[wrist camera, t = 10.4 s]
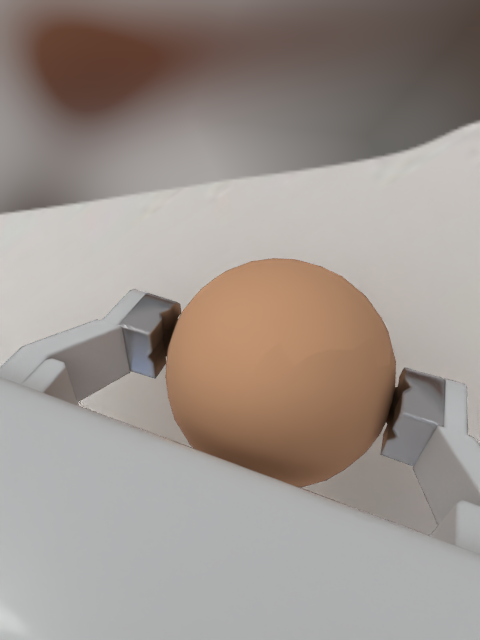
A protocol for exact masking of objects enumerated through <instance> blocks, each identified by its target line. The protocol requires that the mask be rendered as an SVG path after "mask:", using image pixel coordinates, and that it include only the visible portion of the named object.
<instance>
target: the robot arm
mask: <svg viewBox="0 0 480 640" xmlns="http://www.w3.org/2000/svg"><path fill="white" fill-rule="evenodd" d="M180 314H181V307H180V304H179V303H178V302H175V301H172V300H169V299H166V298H162V297H159V296H156V295H153V294H150V293H145V292H142V291H139V290H136V289H133V290H130V291H129V292H128V293H127V294H126V295H125V296H124V297H123V298H122V299H121V300H120V301H119V302H118V304H117V305H116V306H115V307H114V308H113V309H112V310H111V311H110V312H109V313H108V314H107V315H106V316H105V317H104V318H103V319H102V321H101V320H98V319H97V320H94V321H91V322H89V323H86V324H83V325H80V326H77V327H75V328H72V329H69V330H66V331H64V332H61V333H58V334H55V335H52V336H50V337H47V338H44V339H41V340H39V341H36V342H33V343H30V344H28V345H25V346H22V347H21V348H20V349H19V350H18V351H17V352H16V353H15V354H14V355H13V356H11V357H10V358H9V359H8V360H7V361H6V362H5V363H4V364H3V365H2V366H1V367H0V640H480V445H479V443H478V442H477V441H476V439H475V438H474V437H472V436H469V435H468V422H467V387H466V385H465V384H464V383H460V382H456V381H453V380H449V379H445V378H444V379H443V378H441V377H438V376H434V375H430V374H427V373H423V372H420V371H416V370H412V369H409V368H404V369H403V370H402V373H401V375H400V377H399V384H398V387H395V391H394V395H393V399H392V403H391V407H390V410H389V413H388V417H387V420H386V422H387V424H388V425H387V427H386V429H385V431H384V434H383V440H382V447H381V454H380V455H383V456H386V457H389V458H391V459H394V460H397V461H400V462H402V463H405V464H408V465H411V466H413V470H414V472H415V475H416V477H417V479H418V481H419V484H420V486H421V488H422V490H423V493H424V495H425V497H426V499H427V502H428V504H429V506H430V508H431V510H432V513H433V515H434V517H435V519H436V522H437V524H438V526H437V528H436V529H435V530H434V531H433V532H432V534H431V535H430V536H429V535H426V534H423V533H421V532H418V531H415V530H413V529H410V528H407V527H405V526H402V525H399V524H396V523H394V522H391V521H388V520H386V519H383V518H380V517H378V516H375V515H372V514H369V513H367V512H364V511H361V510H359V509H356V508H353V507H351V506H348V505H345V504H342V503H340V502H337V501H334V500H332V499H329V498H326V497H323V496H321V495H318V494H315V493H313V492H310V491H307V490H304V489H302V488H299V487H296V486H294V485H291V484H288V483H285V482H283V481H280V480H277V479H275V478H272V477H269V476H266V475H264V474H261V473H258V472H256V471H253V470H250V469H248V468H245V467H242V466H239V465H237V464H234V463H231V462H229V461H226V460H223V459H221V458H218V457H215V456H213V455H210V454H207V453H204V452H202V451H199V450H196V449H194V448H191V447H188V446H186V445H183V444H180V443H178V442H175V441H172V440H169V439H167V438H164V437H161V436H159V435H156V434H153V433H151V432H148V431H145V430H143V429H140V428H137V427H134V426H132V425H129V424H126V423H124V422H121V421H118V420H115V419H113V418H110V417H107V416H105V415H102V414H99V413H97V412H94V411H91V410H88V409H86V408H83V407H80V406H79V404H78V402H79V401H80V400H82V399H84V398H86V397H88V396H89V395H91V394H93V393H95V392H96V391H98V390H100V389H102V388H103V387H105V386H107V385H109V384H110V383H112V382H114V381H116V380H118V379H119V378H121V377H123V376H125V375H126V374H128V373H130V371H132V372H135V373H138V374H142V375H145V376H148V377H151V378H155V379H156V377H157V376H158V374H159V373H160V371H161V370H162V369H163V367H164V366H165V364H166V356H167V352H168V346H169V343H170V341H171V338H172V335H173V332H174V329H175V326H176V323H177V321H178V317H179V315H180Z"/></svg>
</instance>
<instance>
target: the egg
mask: <svg viewBox="0 0 480 640" xmlns="http://www.w3.org/2000/svg"><path fill="white" fill-rule="evenodd" d="M395 374H396V361H395V357H394V353H393V349H392V345H391V341H390V337H389V333H388V330H387V328H386V326H385V324H384V322H383V320H382V318H381V317H380V315H379V314H378V313H377V311H376V310H375V308H374V307H373V306H372V304H371V303H370V301H369V300H368V299H367V297H366V296H365V295H364V294H363V293H361V292H360V291H359V290H358V289H357V288H355V287H354V286H353V285H352V284H351V283H349V282H348V281H347V280H346V279H345V278H343V277H342V276H340V275H338V274H336V273H334V272H332V271H329V270H327V269H325V268H323V267H321V266H317V265H314V264H310V263H306V262H303V261H299V260H295V259H275V258H273V259H265V260H258V261H251V262H249V263H246V264H243V265H241V266H238V267H235V268H233V269H230V270H228V271H226V272H224V273H222V274H221V275H219V276H218V277H216V278H215V279H213V280H212V281H211V282H210V283H208V284H207V285H206V286H204V287H203V288H202V289H201V290H200V291H199V292H198V293H197V294H196V296H195V297H194V298H193V299H192V300H191V301H190V303H189V304H188V305H187V306H186V308H185V309H184V310H183V312H182V313H181V315H180V317H179V319H178V321H177V323H176V326H175V329H174V332H173V335H172V338H171V341H170V343H169V346H168V352H167V364H166V376H165V377H166V384H167V392H168V398H169V402H170V405H171V409H172V412H173V416H174V419H175V421H176V422H177V424H178V426H179V427H180V429H181V431H182V432H183V434H184V436H185V437H186V439H187V440H188V442H189V444H190V445H191V446H192V447H193V448H194V449H196V450H199V451H202V452H204V453H207V454H210V455H213V456H215V457H218V458H221V459H223V460H226V461H229V462H231V463H234V464H237V465H239V466H242V467H245V468H248V469H250V470H253V471H256V472H258V473H261V474H264V475H266V476H269V477H272V478H275V479H277V480H280V481H283V482H285V483H288V484H291V485H294V486H296V487H299V488H300V487H304V486H308V485H311V484H315V483H318V482H322V481H325V480H327V479H329V478H331V477H333V476H334V475H336V474H338V473H340V472H341V471H343V470H345V469H346V468H347V467H349V466H350V465H351V464H352V463H353V462H355V461H356V460H357V459H358V458H360V457H361V456H362V455H363V454H364V453H365V452H366V451H367V450H368V449H369V448H370V447H371V445H372V444H373V443H374V441H375V440H376V438H377V437H378V436H379V434H380V433H381V431H382V429H383V427H384V425H385V423H386V420H387V417H388V413H389V410H390V407H391V403H392V399H393V395H394V391H395Z"/></svg>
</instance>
